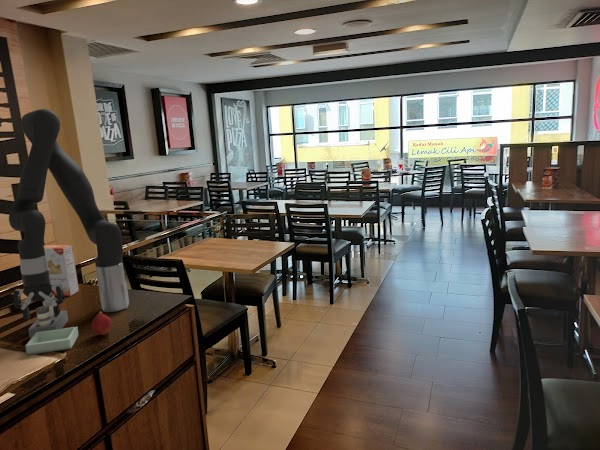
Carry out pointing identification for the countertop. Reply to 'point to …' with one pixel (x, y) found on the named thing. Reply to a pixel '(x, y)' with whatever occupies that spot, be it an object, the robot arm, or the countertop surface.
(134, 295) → the countertop surface
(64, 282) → the cracker box
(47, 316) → the cylinder
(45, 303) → the ball
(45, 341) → the parts tray
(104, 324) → the onion
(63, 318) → the block
